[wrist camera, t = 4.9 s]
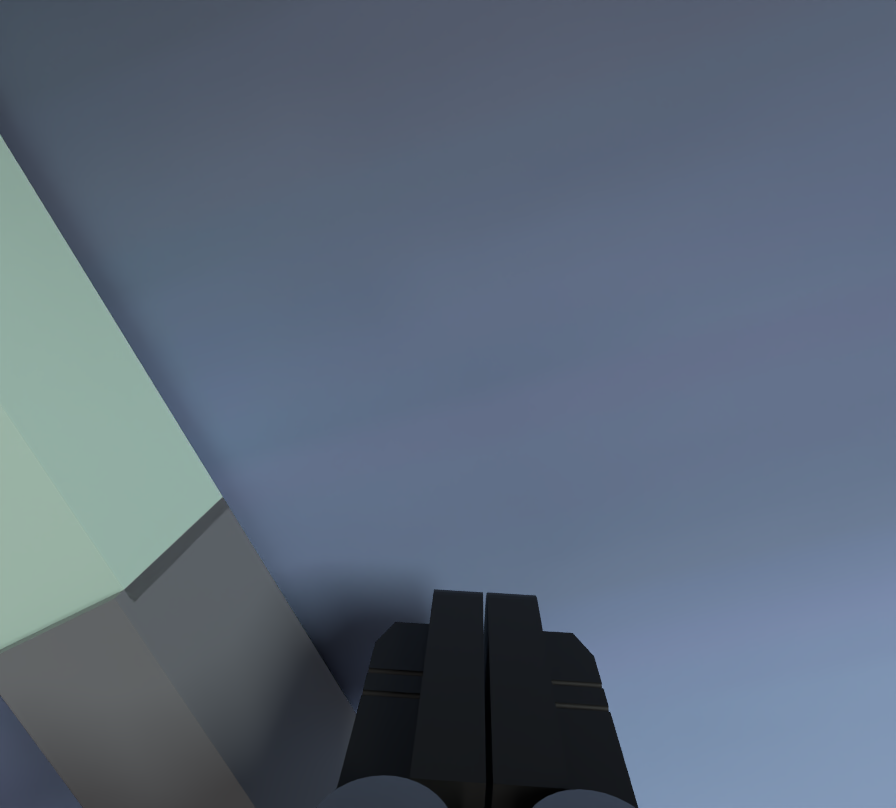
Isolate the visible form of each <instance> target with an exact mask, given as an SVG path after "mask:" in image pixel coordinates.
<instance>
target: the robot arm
mask: <svg viewBox="0 0 896 808" xmlns="http://www.w3.org/2000/svg"><path fill="white" fill-rule="evenodd" d="M316 808H638V805H637V802H636V798H635V795H634V792H633V788H632V785H631V781H630V778H629V774H628V771H627V768H626V764H625V761H624V757H623V754H622V751H621V747H620V744H619V740H618V737H617V733H616V730H615V727H614V723H613V720H612V716H611V713H610V712H609V711H608V703H607V699H606V696H605V692H604V689H603V688H602V682H601V679H600V675H599V672H598V669H597V665H596V662H595V658H594V656H593V655H592V654H591V653H590V651H589V650H588V649H587V648H586V647H585V646H584V645H583V644H582V643H581V642H580V641H579V639H578V638H577V637H576V636H575V635H574V634H573V633H563V632H547V631H543V630H542V624H541V618H540V613H539V607H538V601H537V597H536V596H535V595H519V594H503V593H487V595H486V605H485V620H484V630H483V592H468V591H452V590H435V589H434V594H433V601H432V609H431V617H430V624H419V623H403V622H395V623H394V624H393V625H392V626H391V627H390V628H389V629H388V630H387V631H386V632H385V633H384V634H383V635H382V636H381V637H380V638H379V639H378V640H377V641H376V642H375V646H374V650H373V653H372V657H371V661H370V665H369V671H368V673H367V676H366V680H365V684H364V687H363V694H362V695H361V699H360V702H359V706H358V710H357V714H356V718H355V721H354V725H353V729H352V733H351V736H350V740H349V744H348V748H347V751H346V755H345V759H344V763H343V767H342V770H341V774H340V778H339V782H338V785H337V788H336V790H334V791H333V792H332V793H330V794H329V795H328V796H326V797H325V798H324V799H323V800H322V801H321V802H320V803H319V804H318V806H317V807H316Z"/></svg>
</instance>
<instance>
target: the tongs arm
mask: <svg viewBox="0 0 896 808" xmlns="http://www.w3.org/2000/svg"><path fill="white" fill-rule="evenodd" d="M0 695H1V697H2V698H3V699H4V701H5V702H6V704H7V705H8V706H9V708H10V709H11V710H12V712H13V713H14V714H15V716H16V717H17V719H18V720H19V721H20V723H21V724H22V725H23V727H24V728H25V729H26V731H27V732H28V734H29V735H30V736H31V738H32V739H33V740H34V742H35V743H36V744H37V746H38V747H39V748H40V750H41V751H42V753H43V754H44V755H45V757H46V758H47V759H48V761H49V762H50V763H51V765H52V766H53V768H54V769H55V770H56V772H57V773H58V774H59V776H60V777H61V778H62V780H63V781H64V783H65V784H66V785H67V787H68V788H69V789H70V791H71V792H72V793H73V795H74V796H75V797H76V799H77V800H78V802H79V803H80V804H81V806H82V807H83V808H316V807H317V806H318V804H319V803H320V802H321V801H322V800H323V799H324V798H325V797H326V796H328V795H329V794H330V793H332V792H333V791H334V790H336V788H337V785H338V782H339V778H340V774H341V770H342V767H343V763H344V759H345V755H346V751H347V748H348V744H349V740H350V736H351V733H352V729H353V725H354V721H355V718H356V713H355V712H354V710H353V708H352V707H351V705H350V703H349V702H348V700H347V699H346V697H345V695H344V694H343V692H342V690H341V689H340V687H339V686H338V684H337V682H336V681H335V679H334V677H333V676H332V674H331V672H330V671H329V669H328V668H327V666H326V664H325V663H324V661H323V659H322V658H321V656H320V655H319V653H318V651H317V650H316V648H315V646H314V645H313V643H312V642H311V640H310V638H309V637H308V635H307V633H306V632H305V630H304V629H303V627H302V625H301V624H300V622H299V620H298V619H297V617H296V616H295V614H294V612H293V611H292V609H291V607H290V606H289V604H288V602H287V601H286V599H285V598H284V596H283V594H282V593H281V591H280V589H279V588H278V586H277V585H276V583H275V581H274V580H273V578H272V576H271V575H270V573H269V572H268V570H267V568H266V567H265V565H264V563H263V562H262V560H261V559H260V557H259V555H258V554H257V552H256V550H255V549H254V547H253V545H252V544H251V542H250V541H249V539H248V537H247V536H246V534H245V532H244V531H243V529H242V528H241V526H240V524H239V523H238V521H237V519H236V518H235V516H234V515H233V513H232V511H231V510H230V508H229V506H228V505H227V503H226V502H225V500H224V498H223V497H222V495H221V493H220V492H219V490H218V488H217V487H216V485H215V484H214V482H213V480H212V479H211V477H210V475H209V474H208V472H207V471H206V469H205V467H204V466H203V464H202V462H201V461H200V459H199V458H198V456H197V454H196V453H195V451H194V449H193V448H192V446H191V445H190V443H189V441H188V440H187V438H186V436H185V435H184V433H183V432H182V430H181V428H180V427H179V425H178V423H177V422H176V420H175V418H174V417H173V415H172V414H171V412H170V410H169V409H168V407H167V405H166V404H165V402H164V401H163V399H162V397H161V396H160V394H159V392H158V391H157V389H156V388H155V386H154V384H153V383H152V381H151V379H150V378H149V376H148V375H147V373H146V371H145V370H144V368H143V366H142V365H141V363H140V361H139V360H138V358H137V357H136V355H135V353H134V352H133V350H132V348H131V347H130V345H129V344H128V342H127V340H126V339H125V337H124V335H123V334H122V332H121V331H120V329H119V327H118V326H117V324H116V322H115V321H114V319H113V318H112V316H111V314H110V313H109V311H108V309H107V308H106V306H105V304H104V303H103V301H102V300H101V298H100V296H99V295H98V293H97V291H96V290H95V288H94V287H93V285H92V283H91V282H90V280H89V278H88V277H87V275H86V274H85V272H84V270H83V269H82V267H81V265H80V264H79V262H78V261H77V259H76V257H75V256H74V254H73V252H72V251H71V249H70V248H69V246H68V244H67V243H66V241H65V239H64V238H63V236H62V234H61V233H60V231H59V230H58V228H57V226H56V225H55V223H54V221H53V220H52V218H51V217H50V215H49V213H48V212H47V210H46V208H45V207H44V205H43V204H42V202H41V200H40V199H39V197H38V195H37V194H36V192H35V191H34V189H33V187H32V186H31V184H30V182H29V181H28V179H27V177H26V176H25V174H24V173H23V171H22V169H21V168H20V166H19V164H18V163H17V161H16V160H15V158H14V156H13V155H12V153H11V151H10V150H9V148H8V147H7V145H6V143H5V142H4V140H3V138H2V137H1V135H0Z"/></svg>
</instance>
